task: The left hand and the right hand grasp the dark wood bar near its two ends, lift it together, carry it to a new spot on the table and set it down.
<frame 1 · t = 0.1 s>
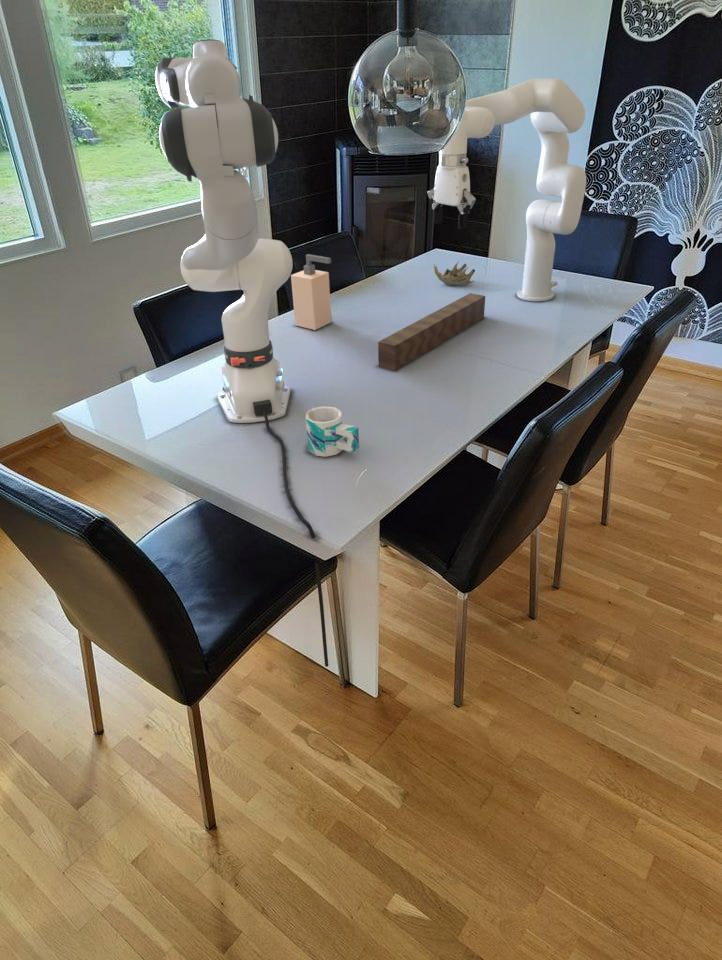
left hand: (226, 178, 174), 48 cm above the table, tool pointing down, fingers open, 8 cm apart
right hand: (449, 225, 194), 31 cm above the table, tool pointing down, fingers open, 9 cm apart
bar: (435, 340, 203), on the table
mug: (333, 450, 149), on the table
soap dispenser: (318, 325, 217), on the table
jawbone: (452, 284, 249), on the table
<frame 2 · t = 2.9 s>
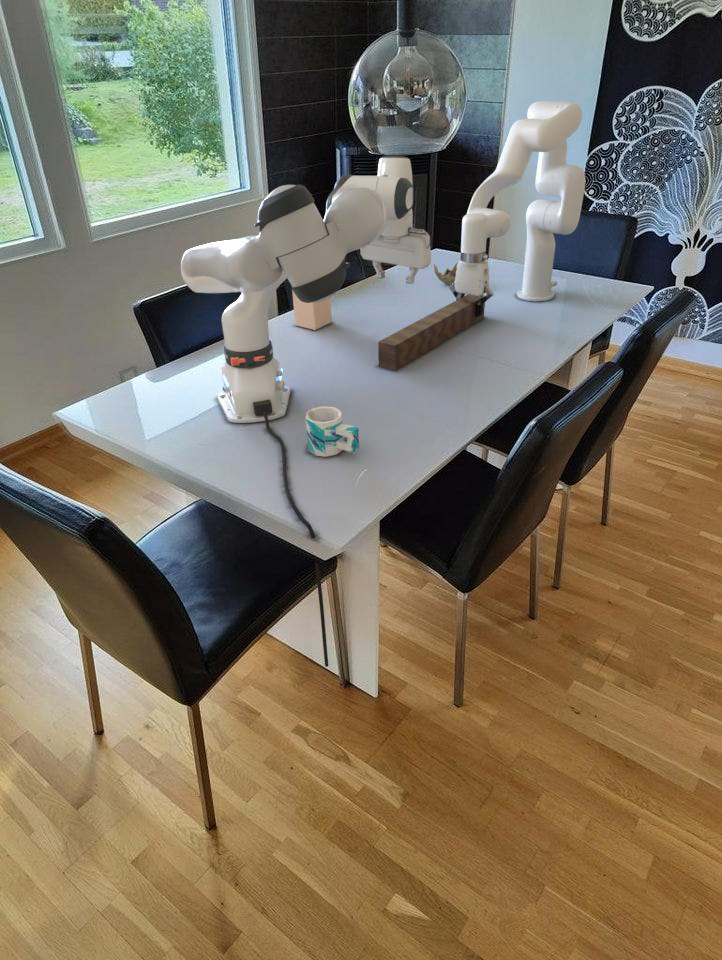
left hand: (395, 280, 177), 23 cm above the table, tool pointing down, fingers open, 8 cm apart
right hand: (469, 313, 215), 2 cm above the table, tool pointing down, fingers closed on bar, 5 cm apart
bar: (435, 340, 203), on the table, touching right hand
everything else where it was.
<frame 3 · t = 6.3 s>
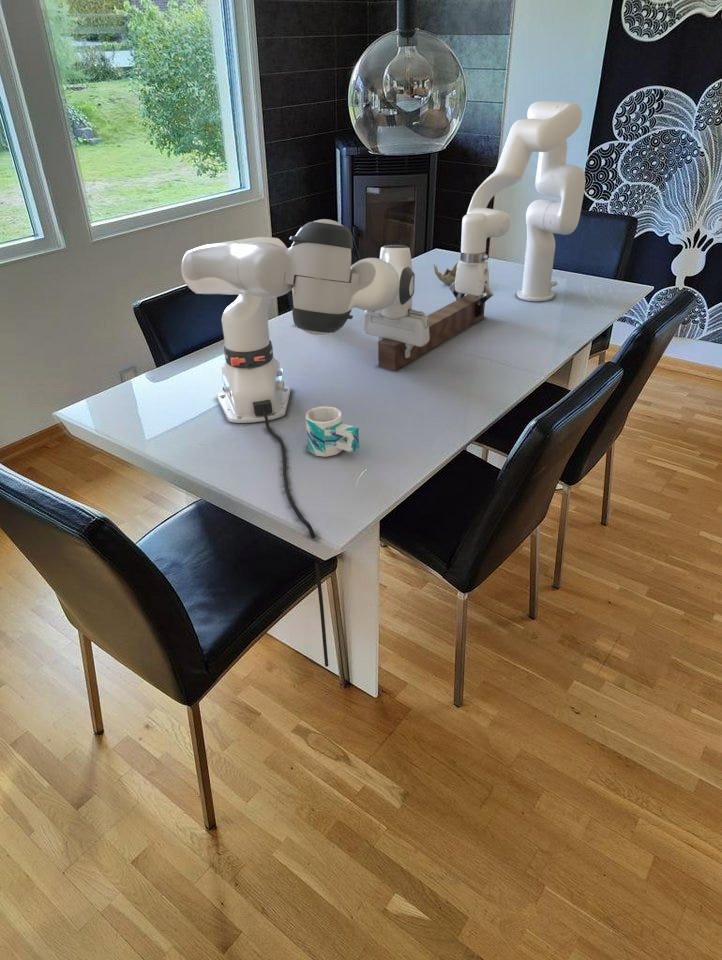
left hand: (395, 354, 188), 3 cm above the table, tool pointing down, fingers closed on bar, 5 cm apart
right hand: (469, 313, 215), 2 cm above the table, tool pointing down, fingers closed on bar, 5 cm apart
bar: (435, 340, 203), on the table, touching left hand, right hand
everything else where it was.
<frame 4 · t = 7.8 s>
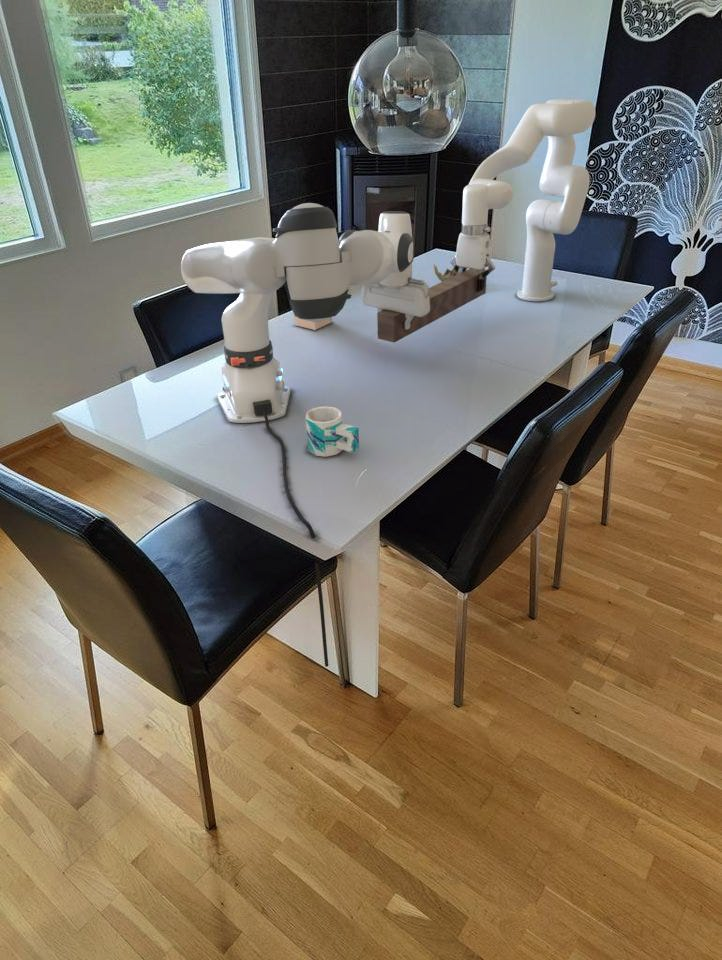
left hand: (395, 326, 184), 11 cm above the table, tool pointing down, fingers closed on bar, 5 cm apart
right hand: (471, 288, 211), 10 cm above the table, tool pointing down, fingers closed on bar, 5 cm apart
bar: (435, 314, 198), point 8 cm above the table, touching left hand, right hand
everything else where it was.
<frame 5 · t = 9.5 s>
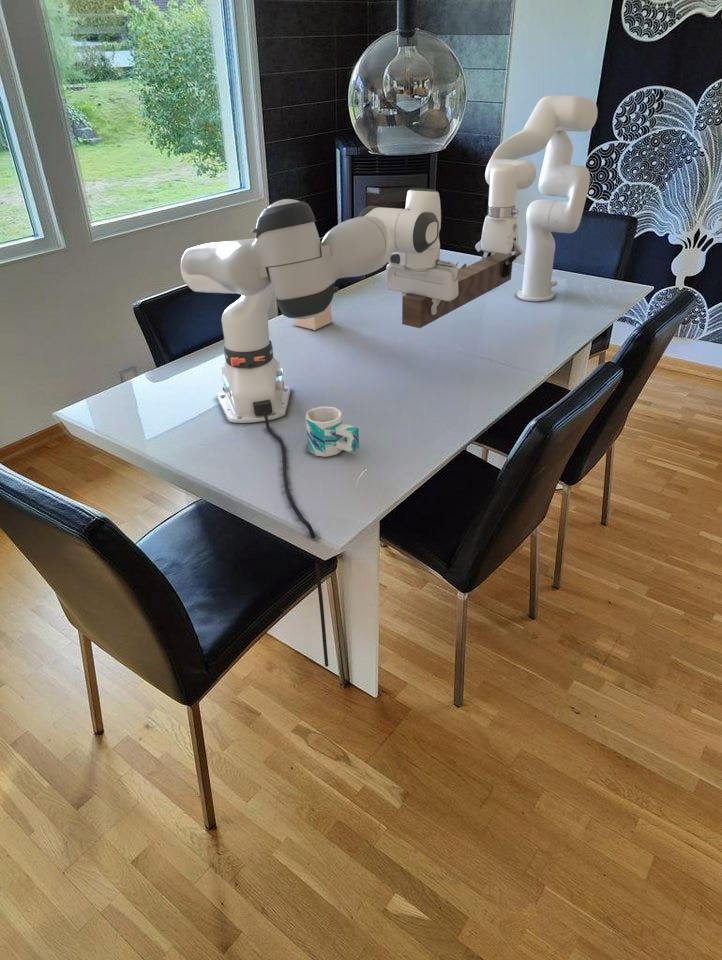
left hand: (420, 311, 175), 17 cm above the table, tool pointing down, fingers closed on bar, 5 cm apart
right hand: (496, 274, 202), 16 cm above the table, tool pointing down, fingers closed on bar, 5 cm apart
bar: (460, 300, 190), point 14 cm above the table, touching left hand, right hand
everything else where it was.
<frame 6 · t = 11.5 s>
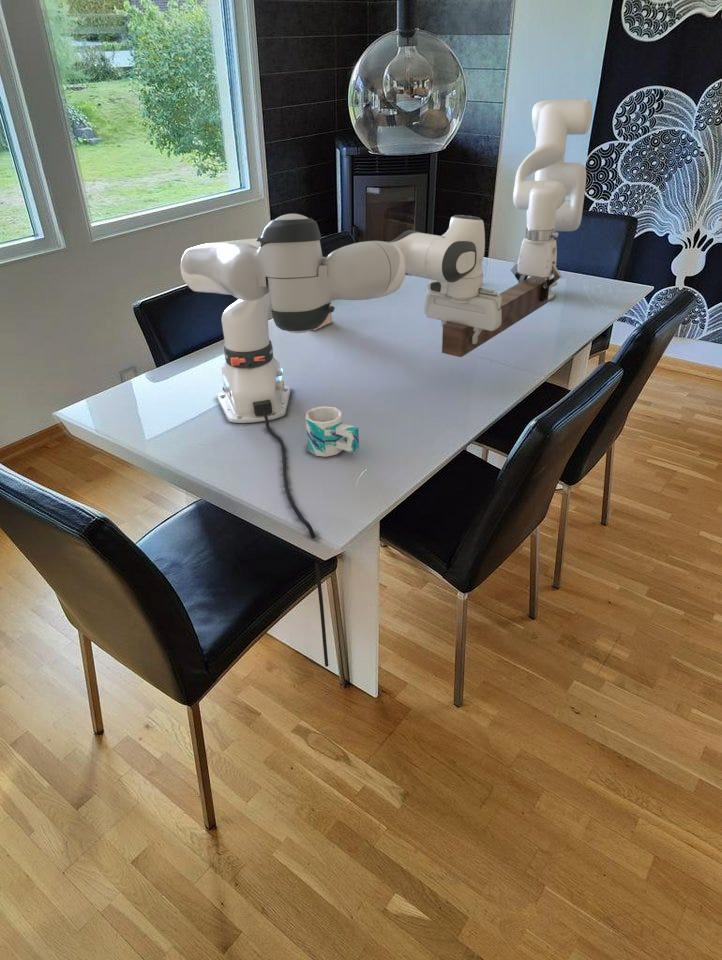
left hand: (460, 340, 169), 12 cm above the table, tool pointing down, fingers closed on bar, 5 cm apart
right hand: (532, 298, 196), 12 cm above the table, tool pointing down, fingers closed on bar, 5 cm apart
bar: (499, 325, 184), point 10 cm above the table, touching left hand, right hand
everything else where it was.
when the left hand's fingers open (4 cm above the table, at t = 13.1 s): bar drops 1 cm, on the table.
when the right hand's fingers open (4 cm above the table, at t = 13.1 s): bar drops 1 cm, on the table.
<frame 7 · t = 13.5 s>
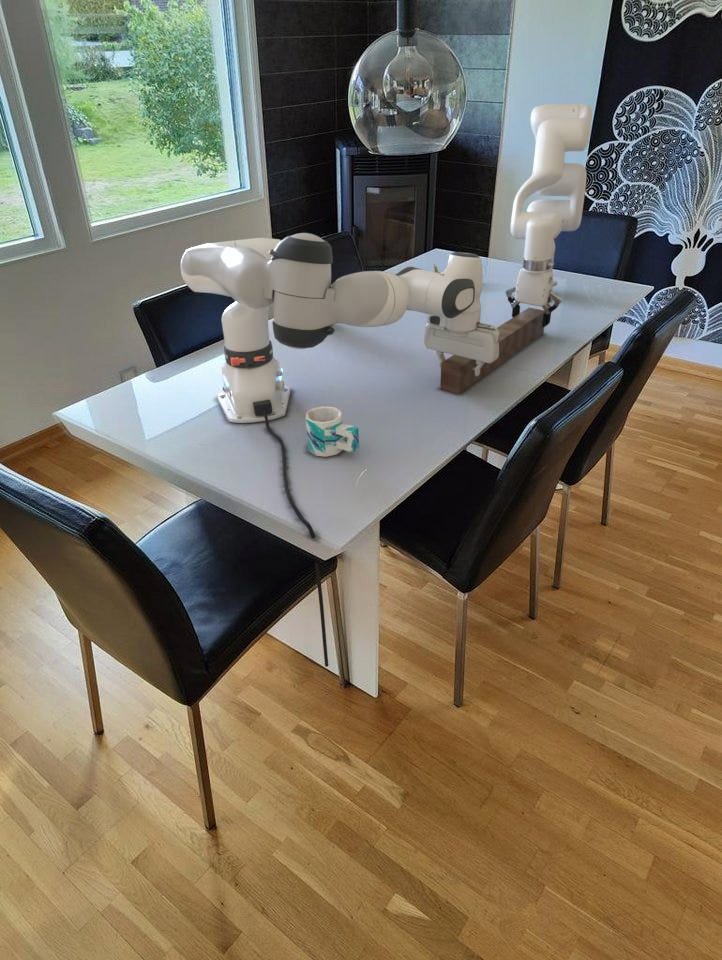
left hand: (459, 370, 173), 4 cm above the table, tool pointing down, fingers open, 8 cm apart
right hand: (530, 322, 200), 4 cm above the table, tool pointing down, fingers open, 9 cm apart
bar: (495, 359, 189), on the table
everything else where it was.
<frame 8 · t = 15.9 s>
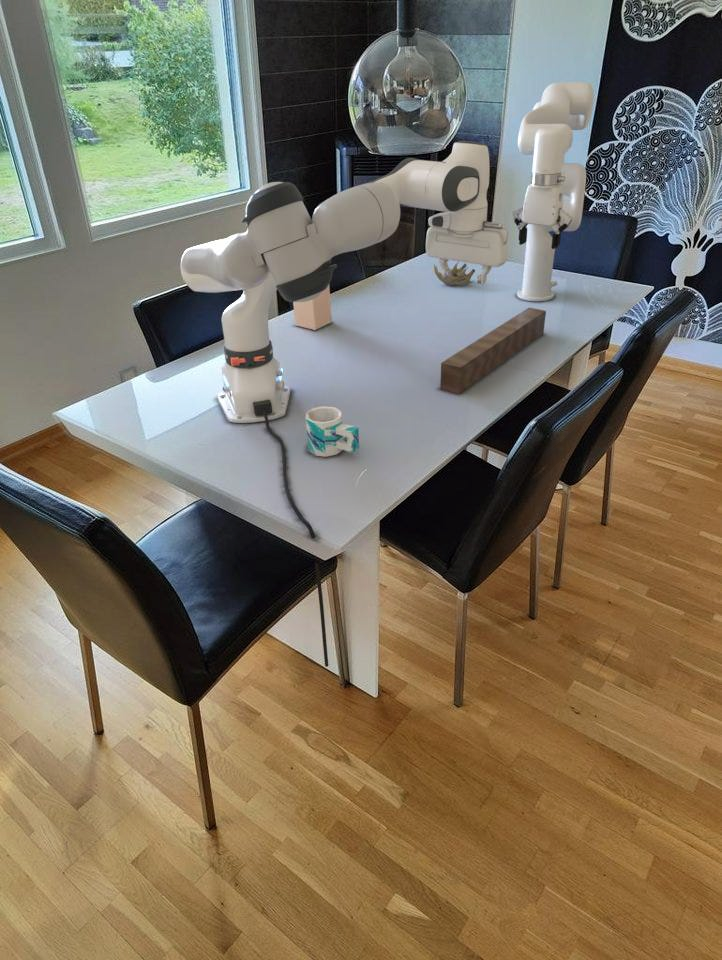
left hand: (464, 280, 161), 28 cm above the table, tool pointing down, fingers open, 8 cm apart
right hand: (538, 245, 188), 27 cm above the table, tool pointing down, fingers open, 9 cm apart
nothing on the table moved.
at the end: bar inside the target area (0.1 cm from its centre), on the table; bar tilted 0°; bar never tilted more than 2° during the clip; both hands held the bar at the same time; the left hand is holding nothing; the right hand is holding nothing; bar at rest at the end (0.0 cm/s) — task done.
